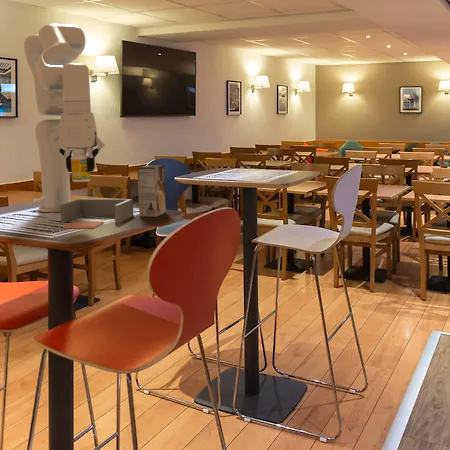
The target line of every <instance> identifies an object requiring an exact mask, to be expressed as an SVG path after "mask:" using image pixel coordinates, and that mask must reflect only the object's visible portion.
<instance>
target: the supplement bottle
mask: <svg viewBox="0 0 450 450" xmlns="http://www.w3.org/2000/svg"><path fill="white" fill-rule="evenodd" d="M72 150H73V152H72V157H71V171H72V172H71V179H72V182H73V183H85V182H90V181H91V172H88V167H87V159H88V158H89V157H88V153H87V150H86V148H73V149H72Z"/></svg>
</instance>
